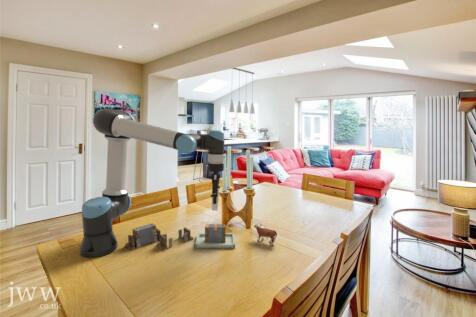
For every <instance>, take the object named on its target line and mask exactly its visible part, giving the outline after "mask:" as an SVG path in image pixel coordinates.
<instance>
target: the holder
mask: <svg viewBox="0 0 476 317" xmlns="http://www.w3.org/2000/svg"><path fill="white" fill-rule="evenodd" d="M160 235H161V230H160V229H159V228H158V227H156V233H155V234H154V242H153V243H158V242H160ZM127 239H128V242H126V243H124V244H125V246H124V247H126V248H127V249H128V250H129V251H133V250H135V249H136V248H137V249H139V248H141V243H140V238H137V239H136V241H137V247H135V246H134V238H133V234H132V235H131V234H128V236H127Z"/></svg>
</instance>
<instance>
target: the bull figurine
mask: <svg viewBox="0 0 476 317" xmlns="http://www.w3.org/2000/svg"><path fill="white" fill-rule="evenodd" d="M262 225H263V224H260V223H258V222H257V223H256V224H255V225H253V227H254V229H255V230H256V232H257V235H258V238H257V240H256V241H257V242H260V241H264V240H265V238H266V240H268V239H269V238H270V240H269V243H270V246H274V243H275V241H276V238H277V236H278V233H277V231H276V230H275V229H274V230H273V229H270V228H266V227H264V226H262Z"/></svg>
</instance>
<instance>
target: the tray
mask: <svg viewBox="0 0 476 317" xmlns="http://www.w3.org/2000/svg"><path fill="white" fill-rule="evenodd" d="M194 249H195V250H196V249H197V250H198V249H200V250H201V249H207V250H208V249H236V237H235V233H234V232H226V237H225V243H205V232H200V233H197V236H196V239H195V243H194Z"/></svg>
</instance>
